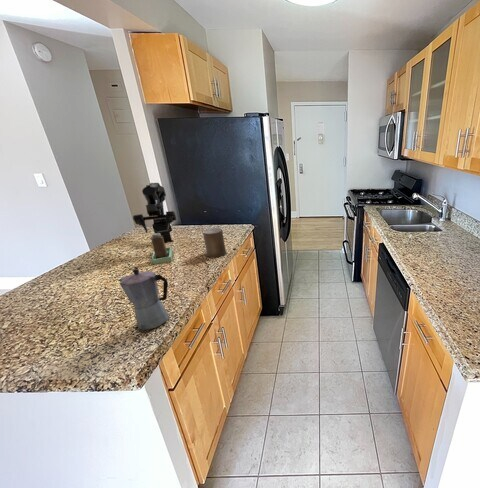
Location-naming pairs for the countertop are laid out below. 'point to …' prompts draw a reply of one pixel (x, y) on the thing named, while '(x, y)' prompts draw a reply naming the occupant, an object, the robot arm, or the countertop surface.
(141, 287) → the moka pot
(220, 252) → the pillar candle
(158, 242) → the pepper mill
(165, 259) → the caddy
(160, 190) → the robot arm
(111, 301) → the countertop surface
